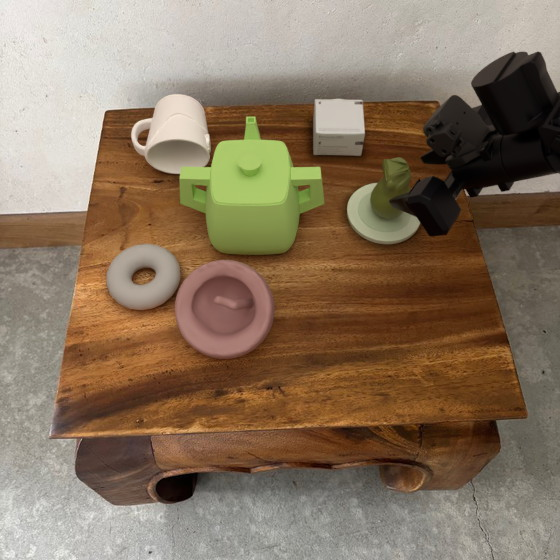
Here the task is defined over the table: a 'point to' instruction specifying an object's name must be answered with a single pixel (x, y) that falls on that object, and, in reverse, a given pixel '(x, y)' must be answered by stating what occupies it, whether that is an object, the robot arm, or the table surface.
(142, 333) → the table surface
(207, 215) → the teapot
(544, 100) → the robot arm
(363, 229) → the plate
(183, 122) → the mug
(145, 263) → the donut
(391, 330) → the table surface
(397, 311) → the table surface
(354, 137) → the small box
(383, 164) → the olive green lumpy piece
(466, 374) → the table surface
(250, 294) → the mortar and pestle
